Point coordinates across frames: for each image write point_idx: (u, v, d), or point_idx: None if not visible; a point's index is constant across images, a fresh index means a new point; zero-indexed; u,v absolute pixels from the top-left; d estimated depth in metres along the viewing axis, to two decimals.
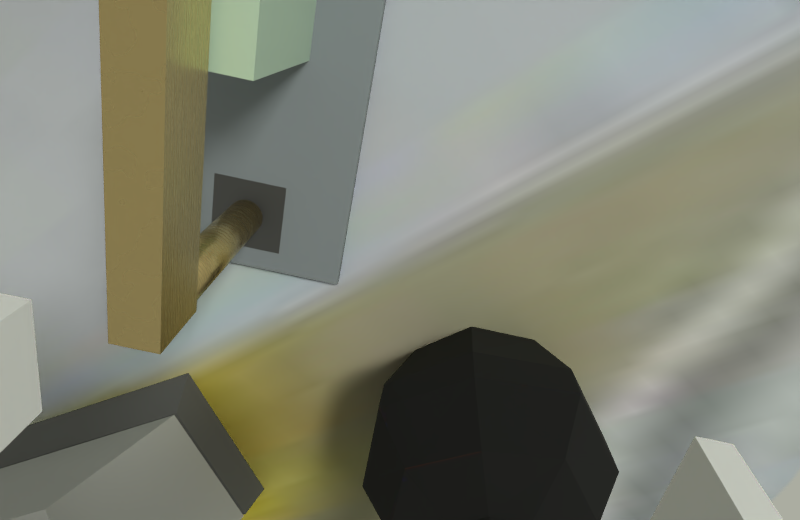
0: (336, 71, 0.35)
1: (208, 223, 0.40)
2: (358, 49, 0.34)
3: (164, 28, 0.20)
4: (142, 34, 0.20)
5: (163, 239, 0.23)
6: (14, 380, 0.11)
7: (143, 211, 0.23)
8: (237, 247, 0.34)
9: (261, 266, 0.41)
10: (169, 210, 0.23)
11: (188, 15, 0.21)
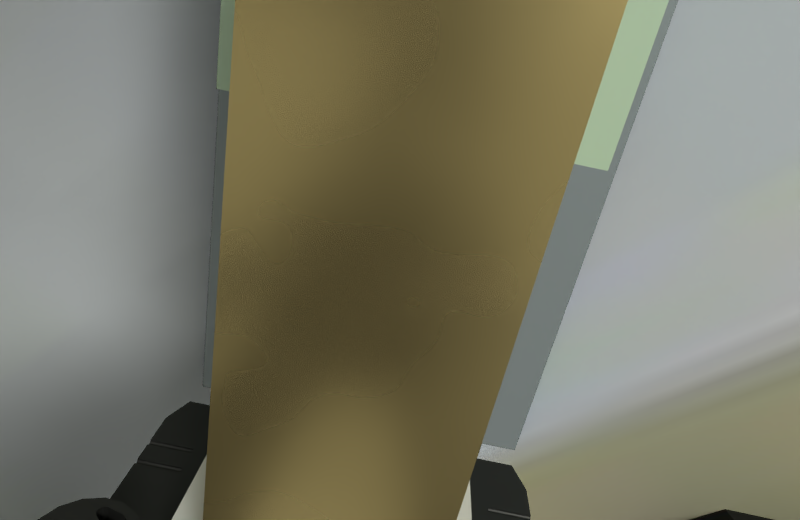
0: None
1: None
2: None
3: None
4: (479, 33, 0.04)
5: None
6: None
7: None
8: None
9: None
10: None
11: None
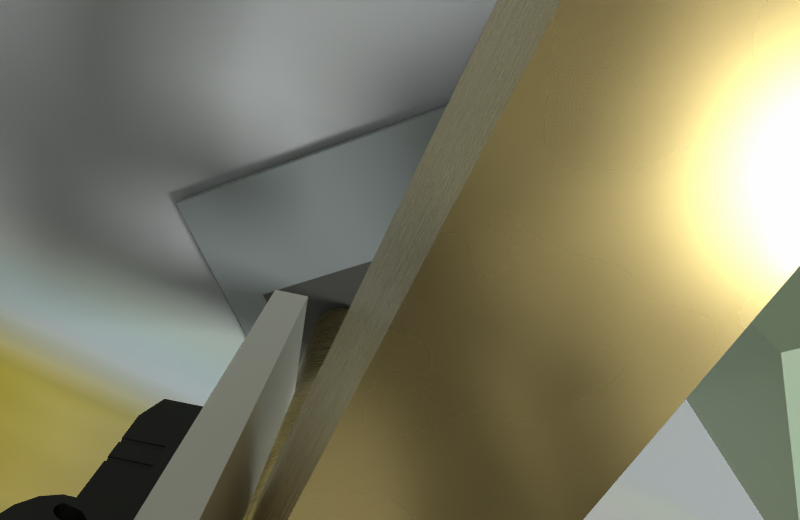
0: None
1: (287, 281, 0.22)
2: None
3: None
4: (785, 102, 0.04)
5: None
6: (293, 364, 0.13)
7: None
8: None
9: None
10: None
11: None
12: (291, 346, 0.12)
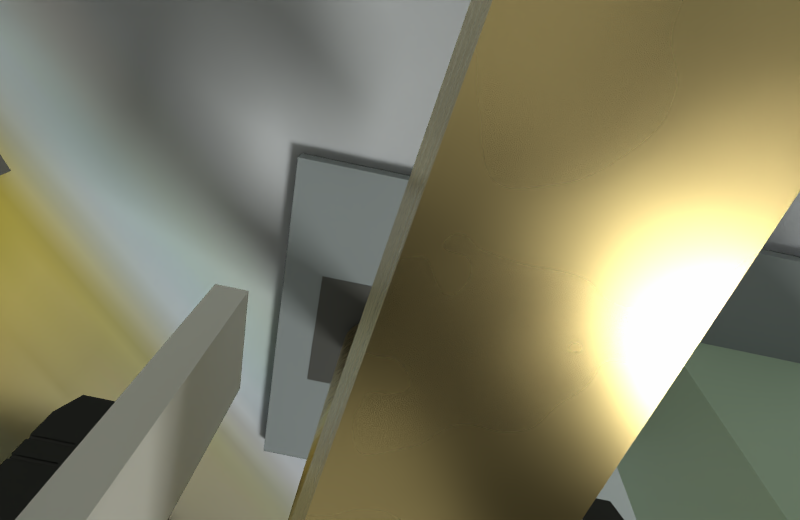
0: None
1: (353, 277, 0.22)
2: (615, 504, 0.25)
3: None
4: (713, 103, 0.04)
5: None
6: (233, 360, 0.12)
7: None
8: None
9: (279, 350, 0.23)
10: None
11: None
12: (226, 341, 0.11)
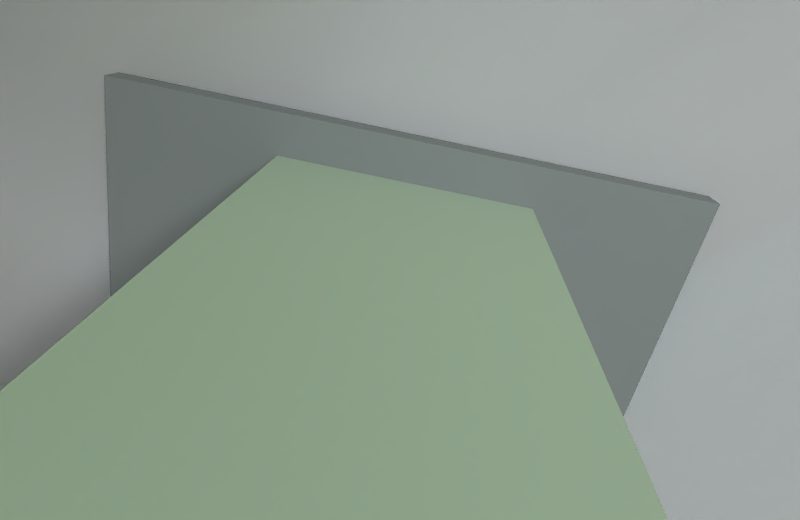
0: None
1: None
2: None
3: None
4: None
5: None
6: None
7: None
8: None
9: None
10: None
11: None
12: None
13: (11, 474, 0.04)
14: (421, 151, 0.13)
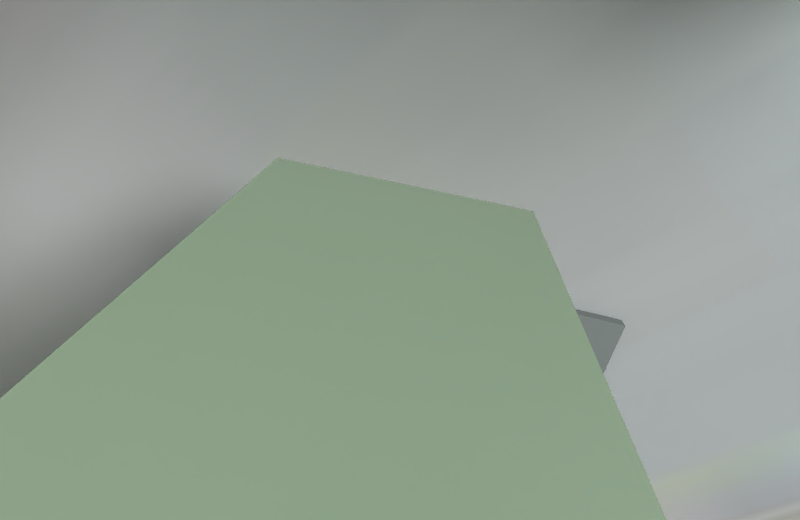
0: None
1: None
2: None
3: None
4: None
5: None
6: None
7: None
8: None
9: None
10: None
11: None
12: None
13: (13, 481, 0.04)
14: None
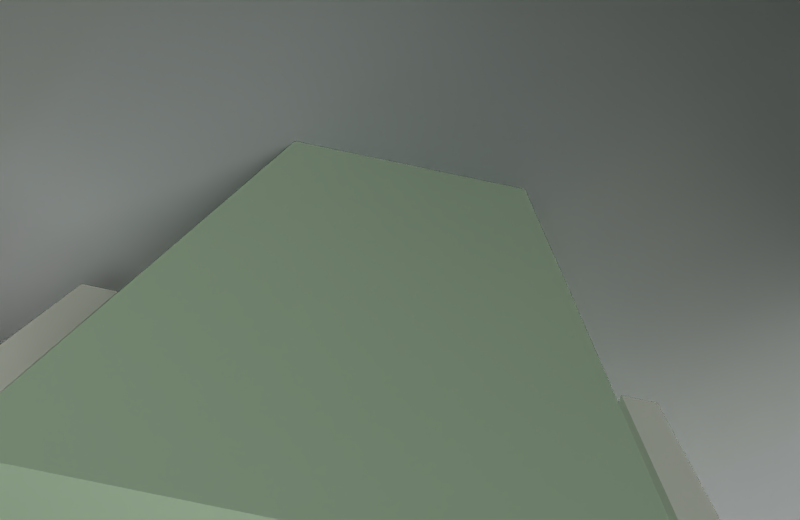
0: None
1: None
2: None
3: None
4: None
5: None
6: None
7: None
8: None
9: None
10: None
11: None
12: None
13: (124, 356, 0.06)
14: None
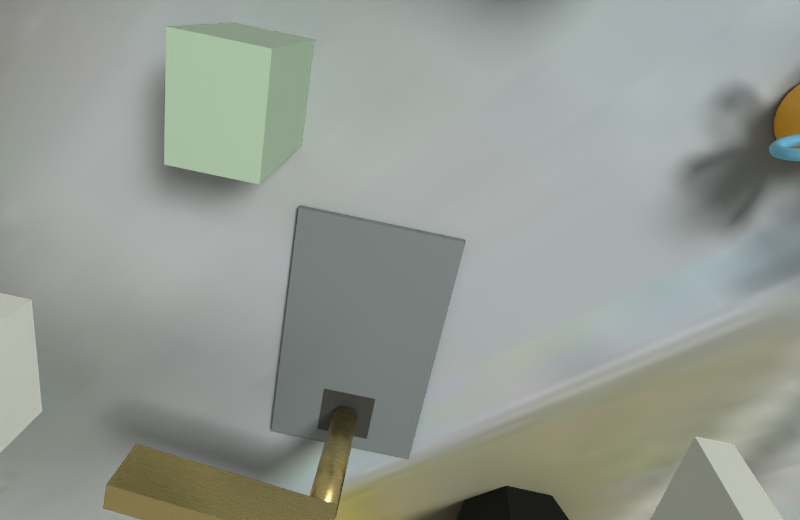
0: (415, 331, 0.50)
1: (316, 418, 0.55)
2: (432, 319, 0.49)
3: (135, 493, 0.39)
4: (138, 502, 0.39)
5: None
6: (14, 380, 0.11)
7: None
8: (338, 445, 0.49)
9: (353, 446, 0.56)
10: (237, 515, 0.40)
11: (142, 472, 0.40)
12: None
13: (189, 28, 0.32)
14: (384, 228, 0.46)
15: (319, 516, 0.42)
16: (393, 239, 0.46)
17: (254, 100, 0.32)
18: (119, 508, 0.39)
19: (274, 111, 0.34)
